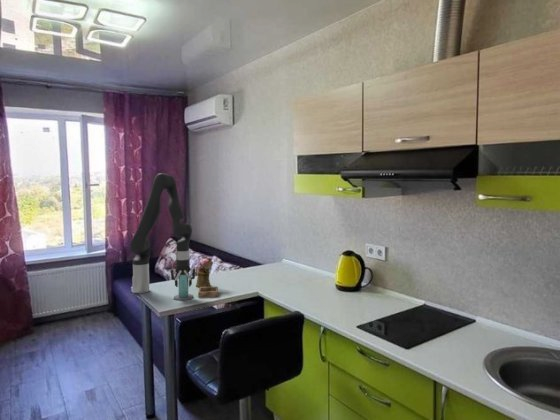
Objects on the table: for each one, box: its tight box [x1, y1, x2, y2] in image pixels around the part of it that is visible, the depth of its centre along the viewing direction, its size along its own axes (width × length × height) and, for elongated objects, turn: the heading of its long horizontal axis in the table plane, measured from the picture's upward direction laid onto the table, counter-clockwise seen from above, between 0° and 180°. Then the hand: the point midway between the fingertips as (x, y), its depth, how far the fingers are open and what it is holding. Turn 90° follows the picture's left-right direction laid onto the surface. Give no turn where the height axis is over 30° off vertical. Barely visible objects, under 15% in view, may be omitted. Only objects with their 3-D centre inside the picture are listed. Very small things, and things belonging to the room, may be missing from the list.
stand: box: [197, 286, 219, 298], centre depth 233 cm, size 11×11×3 cm
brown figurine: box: [195, 260, 214, 289], centre depth 248 cm, size 9×14×18 cm, turn 43°
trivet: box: [173, 293, 194, 302], centre depth 226 cm, size 11×11×1 cm
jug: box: [178, 275, 189, 298], centre depth 224 cm, size 8×6×13 cm
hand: (183, 286), depth 225 cm, fingers open, 6 cm apart
